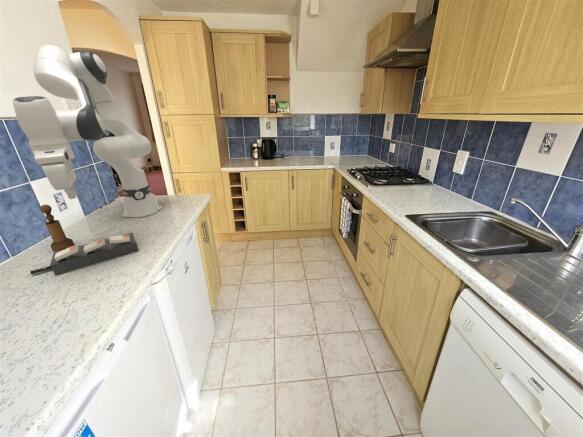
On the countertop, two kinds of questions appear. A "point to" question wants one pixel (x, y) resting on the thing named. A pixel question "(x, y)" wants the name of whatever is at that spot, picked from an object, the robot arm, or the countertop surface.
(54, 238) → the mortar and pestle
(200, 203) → the countertop surface
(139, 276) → the countertop surface
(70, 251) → the rocker
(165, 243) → the countertop surface
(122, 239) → the block
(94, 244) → the rocker middle
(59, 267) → the power strip
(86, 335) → the countertop surface
